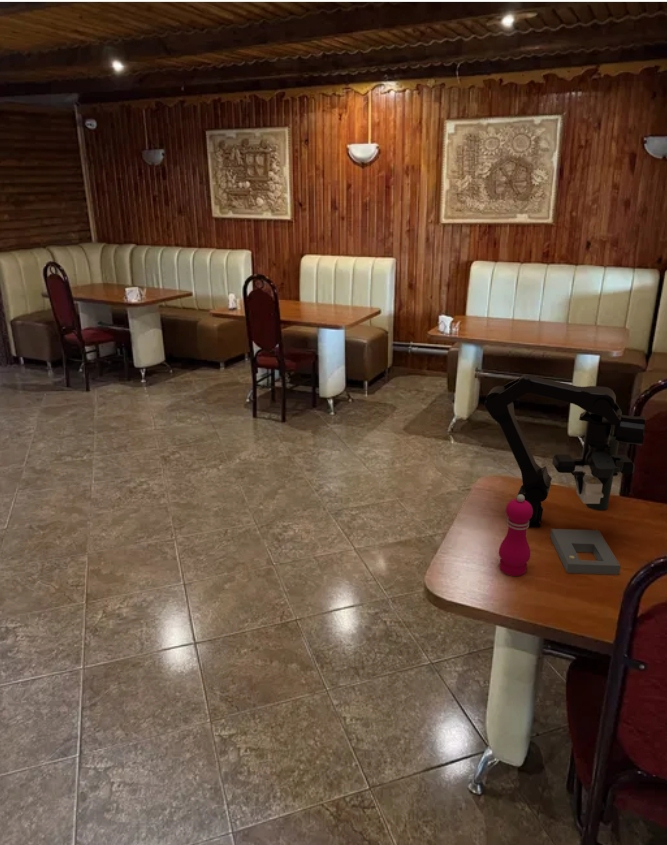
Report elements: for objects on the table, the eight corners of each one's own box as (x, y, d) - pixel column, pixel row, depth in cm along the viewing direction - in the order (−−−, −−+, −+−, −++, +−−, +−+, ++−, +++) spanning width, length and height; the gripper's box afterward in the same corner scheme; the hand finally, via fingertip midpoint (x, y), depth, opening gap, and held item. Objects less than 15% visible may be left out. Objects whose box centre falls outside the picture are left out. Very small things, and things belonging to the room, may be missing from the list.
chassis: (567, 572, 150) (568, 563, 149) (550, 537, 165) (551, 528, 164) (618, 574, 149) (620, 565, 148) (597, 538, 164) (598, 529, 163)
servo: (585, 506, 159) (588, 484, 157) (573, 489, 167) (577, 467, 165) (601, 506, 159) (605, 484, 156) (589, 489, 167) (592, 468, 165)
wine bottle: (590, 510, 177) (606, 410, 166) (583, 500, 183) (598, 403, 172) (611, 510, 177) (628, 410, 166) (603, 500, 183) (619, 403, 172)
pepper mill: (491, 564, 153) (498, 491, 146) (515, 557, 156) (523, 485, 149) (510, 580, 147) (518, 504, 140) (534, 573, 150) (544, 498, 142)
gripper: (568, 450, 150) (560, 508, 155) (648, 451, 149) (637, 509, 155) (555, 433, 160) (548, 487, 166) (630, 433, 159) (620, 488, 165)
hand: (588, 493), depth 162 cm, fingers closed on servo, 4 cm apart
